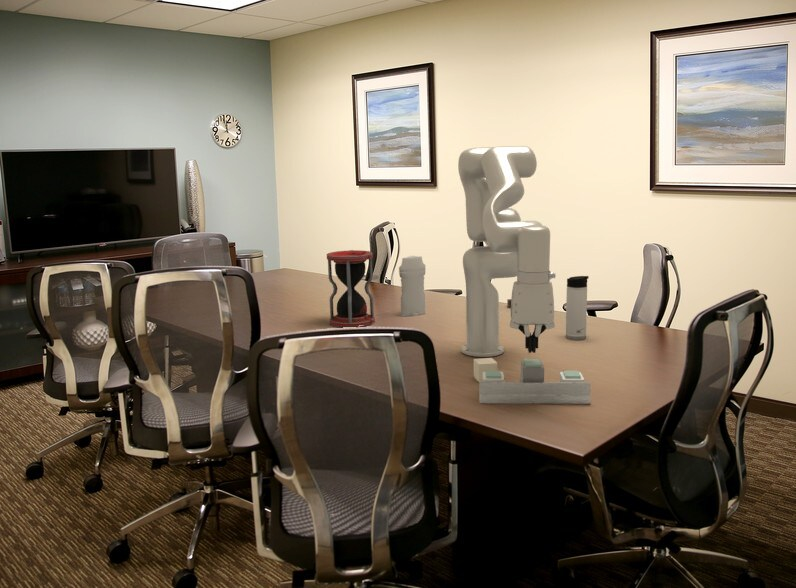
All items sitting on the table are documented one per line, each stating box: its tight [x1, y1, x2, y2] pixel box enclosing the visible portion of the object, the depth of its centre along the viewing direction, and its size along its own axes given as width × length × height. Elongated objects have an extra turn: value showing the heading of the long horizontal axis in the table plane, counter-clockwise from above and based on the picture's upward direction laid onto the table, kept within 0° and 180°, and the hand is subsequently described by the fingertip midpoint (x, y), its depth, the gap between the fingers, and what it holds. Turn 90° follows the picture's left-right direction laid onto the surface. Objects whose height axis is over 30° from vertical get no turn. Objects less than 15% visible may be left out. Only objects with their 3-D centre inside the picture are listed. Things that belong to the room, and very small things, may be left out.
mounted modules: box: [483, 370, 585, 382], centre depth 179 cm, size 6×24×6 cm, turn 85°
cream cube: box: [473, 357, 498, 383], centre depth 192 cm, size 5×5×5 cm
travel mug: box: [565, 275, 589, 341], centre depth 229 cm, size 6×7×20 cm
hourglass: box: [326, 249, 376, 328], centre depth 257 cm, size 16×16×25 cm
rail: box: [478, 381, 591, 405], centre depth 174 cm, size 2×26×5 cm, turn 85°
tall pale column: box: [398, 255, 426, 318], centre depth 267 cm, size 11×4×22 cm, turn 114°
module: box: [520, 358, 545, 382], centre depth 178 cm, size 7×5×8 cm
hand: (531, 351), depth 178 cm, fingers closed
